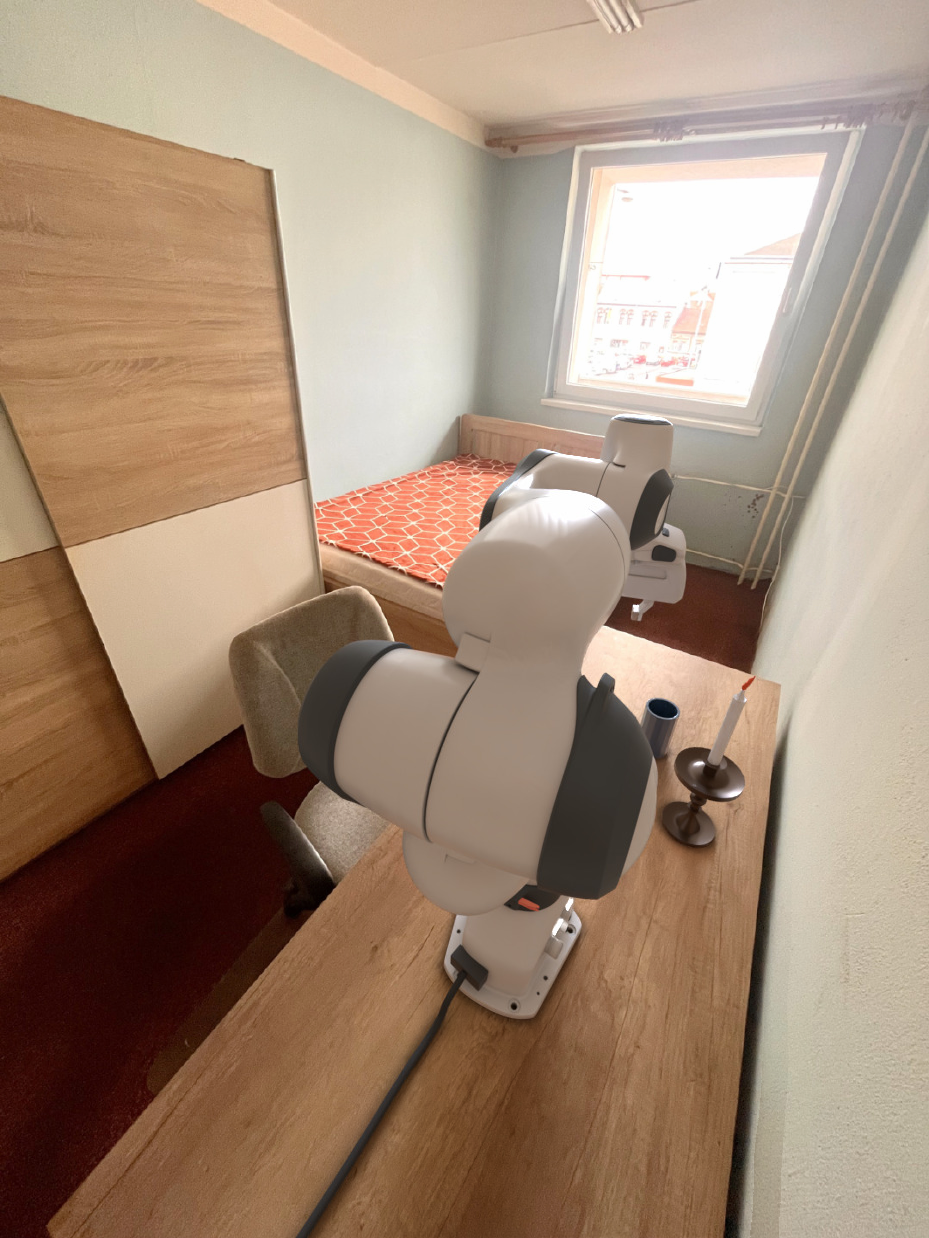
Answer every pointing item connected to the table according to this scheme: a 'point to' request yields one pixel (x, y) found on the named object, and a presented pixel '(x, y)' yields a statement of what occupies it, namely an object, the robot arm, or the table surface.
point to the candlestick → (705, 782)
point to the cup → (659, 724)
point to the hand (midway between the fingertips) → (604, 613)
